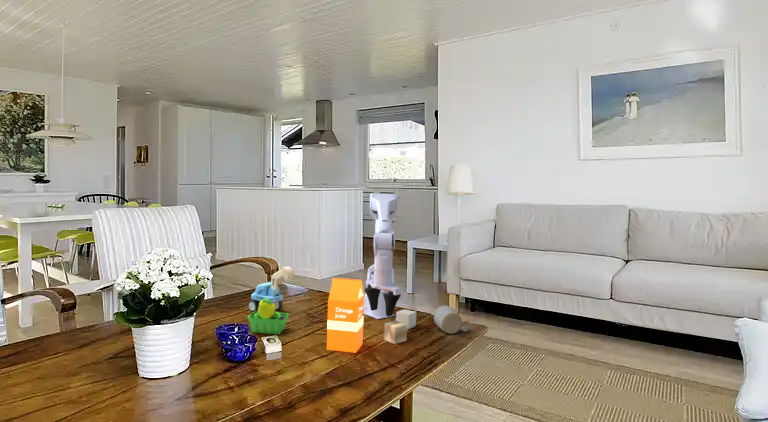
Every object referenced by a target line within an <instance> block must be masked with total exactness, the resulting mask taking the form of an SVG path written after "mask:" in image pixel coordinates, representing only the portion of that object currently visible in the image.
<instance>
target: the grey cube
mask: <svg viewBox="0 0 768 422" xmlns="http://www.w3.org/2000/svg"><path fill="white" fill-rule="evenodd" d="M395 321H398V322H401V323H404V324H407V331H409V330H411V329H413V328H415V327H417V311H413V310H409V309H404V308H403V309H400V310H398V311H396V312H395Z"/></svg>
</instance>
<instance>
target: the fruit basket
mask: <svg viewBox="0 0 768 422" xmlns="http://www.w3.org/2000/svg"><path fill="white" fill-rule="evenodd" d="M275 308H276V307H275V305H274V304H273V303H272V302H271V301H270V299H268V298H265V299H263V300H261V301H260V303H259V307H258V310H257V311H252V313H251V314H249V315H248V316H247V320H248V322H249V323H248V324H249V327H250V330H251V333H260V334H271V335H272V334H273V335H280V334H281V333H282V332H283V331H284V330H285V328H286V325H287V324H286V323H287V321H288V317H289V315H290V314H289V313H288V312H279V310H275Z"/></svg>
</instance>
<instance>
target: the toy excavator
mask: <svg viewBox="0 0 768 422" xmlns="http://www.w3.org/2000/svg"><path fill="white" fill-rule="evenodd" d="M280 269H281V270H278V271H276V272H274V273H273V274H272V276H271V280H270V281H268V282H264V283H260V284H258V285H257V286H256V288H255V291H254V292H253V293H252V294H251V296H250V298H251V300H250V301H249V302H248V306H247V308H248V309H249V311H250V312H255V311H258V307H259V303H260V301H261V300H263V299H265V298H268V299H270V301H271V302H272V303H273V304H274V305H275V307H276V308H275V311H280V310H281V309H282V308H283V307H284V306H283V304H284V302H283V300H284V295H283V294H282V293H281V291H282V290H281V287H279V280H280V279H281V278H284V282H289V281H292V280H293V278H294V276H295V275H294V273H295V272H294V270H293V268H292V267H291V266H283V267H281V268H280Z"/></svg>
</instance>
